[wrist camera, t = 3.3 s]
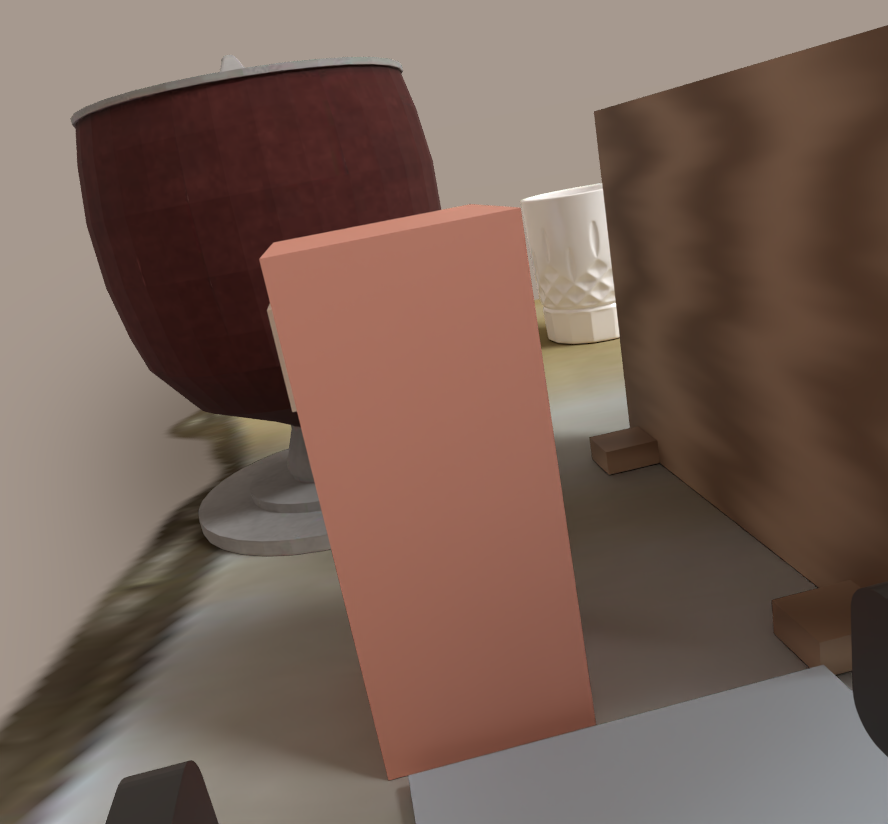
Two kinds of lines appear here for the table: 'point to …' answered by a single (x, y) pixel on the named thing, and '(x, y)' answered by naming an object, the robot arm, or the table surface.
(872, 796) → the felt pad
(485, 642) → the marked block
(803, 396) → the walnut screen
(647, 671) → the table surface
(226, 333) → the mate gourd
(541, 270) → the white cup
